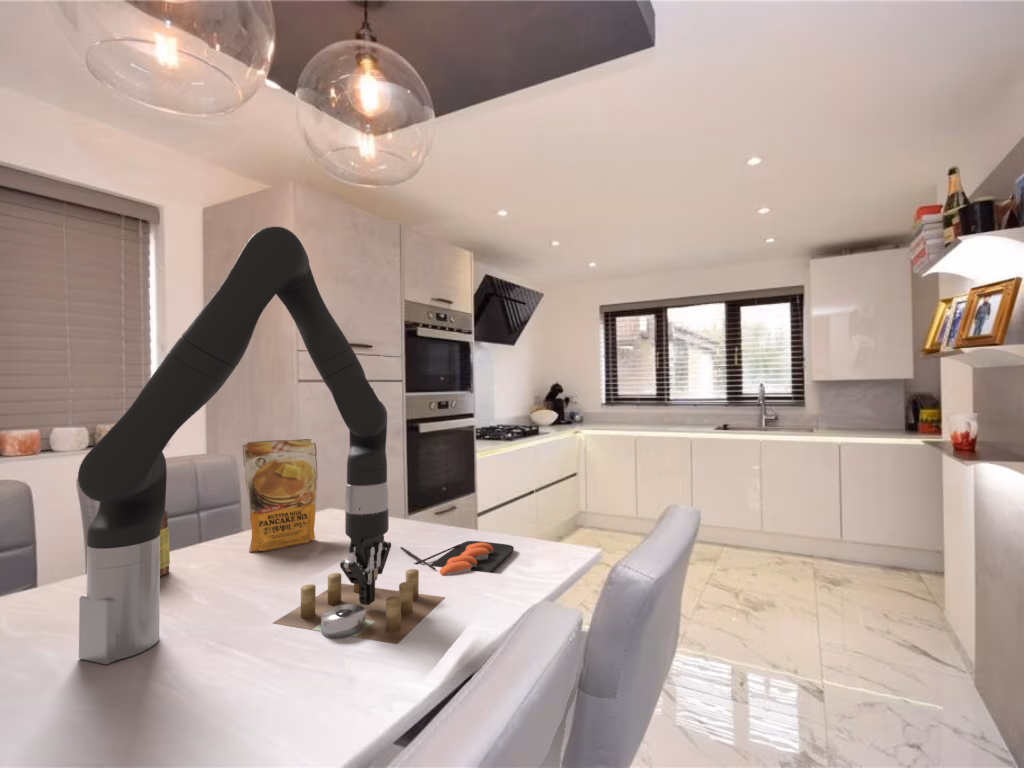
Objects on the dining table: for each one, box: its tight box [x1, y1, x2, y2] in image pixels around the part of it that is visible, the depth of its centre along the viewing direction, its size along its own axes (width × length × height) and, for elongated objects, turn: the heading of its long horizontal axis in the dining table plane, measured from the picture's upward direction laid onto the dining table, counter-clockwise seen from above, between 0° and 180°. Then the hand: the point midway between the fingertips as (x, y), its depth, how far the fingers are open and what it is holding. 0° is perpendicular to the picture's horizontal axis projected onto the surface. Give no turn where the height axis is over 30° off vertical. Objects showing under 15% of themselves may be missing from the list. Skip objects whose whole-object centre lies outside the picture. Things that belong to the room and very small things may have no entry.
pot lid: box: [320, 604, 366, 639], centre depth 82 cm, size 7×7×3 cm
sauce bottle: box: [160, 510, 171, 577], centre depth 109 cm, size 7×6×20 cm
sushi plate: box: [400, 540, 515, 576], centre depth 117 cm, size 29×30×4 cm
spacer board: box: [272, 568, 446, 645], centre depth 89 cm, size 18×24×6 cm
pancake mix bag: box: [242, 438, 318, 552], centre depth 130 cm, size 7×19×28 cm, turn 129°
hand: (367, 602), depth 88 cm, fingers closed
